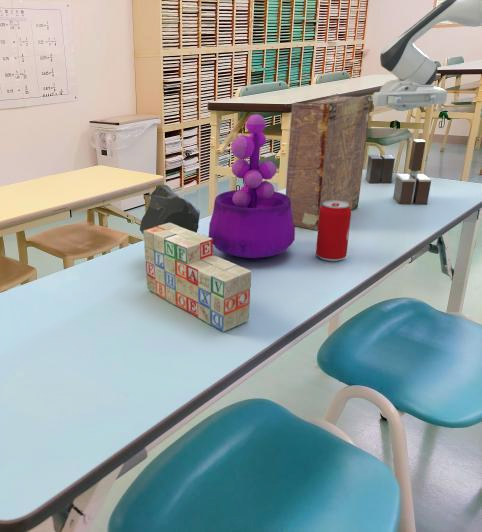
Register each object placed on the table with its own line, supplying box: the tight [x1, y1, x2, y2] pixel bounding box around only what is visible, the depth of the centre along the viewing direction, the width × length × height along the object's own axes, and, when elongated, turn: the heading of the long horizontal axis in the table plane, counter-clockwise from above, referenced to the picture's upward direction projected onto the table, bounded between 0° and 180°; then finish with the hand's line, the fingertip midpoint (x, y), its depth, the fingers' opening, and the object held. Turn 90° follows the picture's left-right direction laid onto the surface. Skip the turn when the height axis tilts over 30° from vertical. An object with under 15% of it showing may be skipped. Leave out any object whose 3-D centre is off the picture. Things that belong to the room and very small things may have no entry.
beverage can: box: [315, 200, 352, 262], centre depth 110 cm, size 6×6×12 cm
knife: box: [408, 139, 426, 204], centre depth 145 cm, size 2×5×17 cm, turn 169°
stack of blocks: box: [143, 223, 252, 333], centre depth 91 cm, size 21×6×12 cm, turn 35°
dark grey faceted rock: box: [139, 184, 201, 236], centre depth 107 cm, size 14×15×18 cm
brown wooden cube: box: [392, 173, 432, 205], centre depth 147 cm, size 7×7×7 cm
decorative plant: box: [208, 114, 296, 259], centre depth 111 cm, size 19×18×30 cm
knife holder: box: [365, 154, 396, 184], centre depth 169 cm, size 7×6×8 cm
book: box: [285, 93, 373, 231], centre depth 134 cm, size 25×9×30 cm, turn 137°
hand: (415, 100), depth 152 cm, fingers open, 8 cm apart
